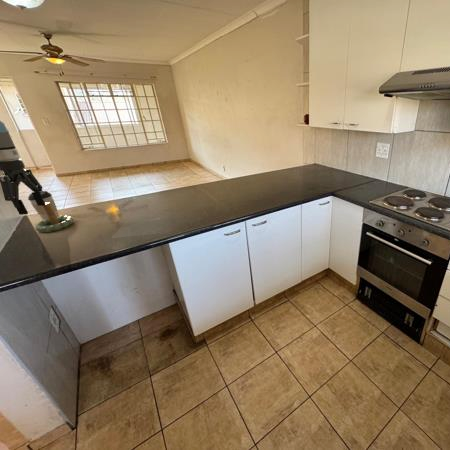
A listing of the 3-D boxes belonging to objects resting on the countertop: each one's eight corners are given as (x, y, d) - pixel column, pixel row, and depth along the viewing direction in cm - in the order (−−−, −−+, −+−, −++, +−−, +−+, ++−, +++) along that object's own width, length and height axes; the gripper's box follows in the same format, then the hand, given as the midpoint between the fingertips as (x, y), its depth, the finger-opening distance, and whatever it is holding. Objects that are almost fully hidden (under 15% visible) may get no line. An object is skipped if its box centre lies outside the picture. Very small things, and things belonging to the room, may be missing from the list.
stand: (41, 233, 119) (27, 208, 113) (53, 225, 127) (41, 200, 121) (63, 231, 121) (50, 206, 115) (73, 223, 129) (62, 199, 122)
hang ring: (29, 234, 115) (26, 228, 114) (49, 221, 127) (47, 216, 126) (63, 231, 118) (61, 226, 117) (80, 218, 130) (78, 213, 129)
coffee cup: (39, 223, 128) (24, 197, 121) (40, 218, 135) (26, 192, 128) (62, 218, 133) (48, 192, 126) (62, 213, 140) (50, 188, 133)
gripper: (-5, 165, 92) (23, 219, 102) (38, 154, 112) (59, 200, 122) (-30, 166, 91) (1, 220, 101) (19, 155, 111) (41, 201, 121)
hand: (33, 209), depth 111 cm, fingers open, 10 cm apart
